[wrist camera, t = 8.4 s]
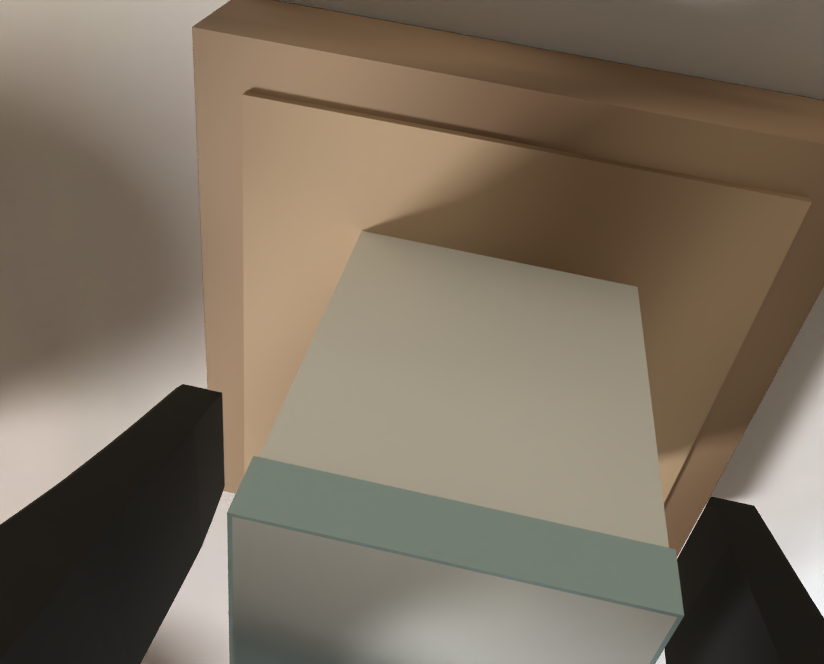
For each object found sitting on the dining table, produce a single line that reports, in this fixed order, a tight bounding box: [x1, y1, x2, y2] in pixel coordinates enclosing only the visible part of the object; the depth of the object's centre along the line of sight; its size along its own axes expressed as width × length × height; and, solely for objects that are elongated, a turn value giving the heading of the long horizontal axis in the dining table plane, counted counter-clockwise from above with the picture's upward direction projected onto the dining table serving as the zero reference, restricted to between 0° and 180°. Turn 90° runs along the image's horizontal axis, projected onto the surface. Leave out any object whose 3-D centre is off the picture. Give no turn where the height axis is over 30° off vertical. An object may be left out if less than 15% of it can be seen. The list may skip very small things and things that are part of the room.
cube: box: [227, 231, 684, 664], centre depth 11 cm, size 5×5×6 cm
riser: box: [192, 0, 824, 556], centre depth 15 cm, size 10×10×2 cm
